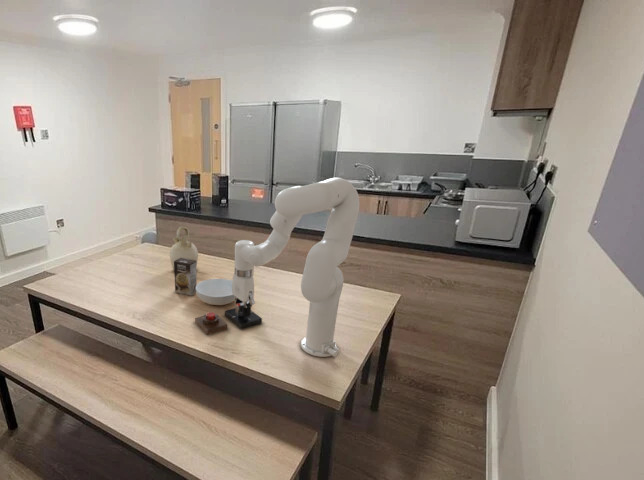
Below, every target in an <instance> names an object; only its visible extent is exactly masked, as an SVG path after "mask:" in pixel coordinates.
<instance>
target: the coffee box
mask: <svg viewBox="0 0 644 480" xmlns="http://www.w3.org/2000/svg"><path fill="white" fill-rule="evenodd" d="M173 273H174V274H173V275H174V293H178V294H181V295H186V296H192V295H194V294H195V293H196V285H197V284H198V282H197V280H198V279H197V276H198V275H197V267H196V260H190V259H185V258H179V259H177V260H175V261H174V270H173Z"/></svg>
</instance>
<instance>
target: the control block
mask: <svg viewBox="0 0 644 480" xmlns="http://www.w3.org/2000/svg"><path fill="white" fill-rule="evenodd" d="M206 314H207V313H205V314H204V315H201V316H198V317H195V318H194V324H196V325H197V327H199V328H200V329H201V330H202V331H203V332H204V333H205V334H206V335H212V334H216V333H219V332H222V331H225V330H228V324H227V322H225V321H224V320H223V319H222V318H221V317H220V316H219V314H217V313H215V319H213V320H208V319H207V318H206Z"/></svg>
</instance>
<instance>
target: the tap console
mask: <svg viewBox="0 0 644 480" xmlns="http://www.w3.org/2000/svg"><path fill="white" fill-rule="evenodd" d="M224 317H225V318H226V319H227V320H229V321H230V323H232V324H234V325H235V326H236V327H237V328H238V329H239V330H245V329H248V328H251V327H255V326H258V325H261V324H263V318H262V317H261V316H260V315H258V314H257V313H255V312H254V311H252V310H251V315H248V316H240V317H237V316H236V309H235V307H234V308H230V309H227V310H224Z"/></svg>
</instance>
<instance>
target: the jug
mask: <svg viewBox="0 0 644 480" xmlns="http://www.w3.org/2000/svg"><path fill="white" fill-rule="evenodd" d="M183 230H184V232H185V235H184V237H181V232H182V231H183ZM189 237H190V230H189V228H188V227H186V226H180V227H178V229H177V231H176V237H173V238H172V241H173V242H174V244H173V245H171V248H170V250H169V259H170V263H171V267H172V270H173V271H174V261H175V260H177V259H179V258H185V259H190V260H196V268H197V267H198V262H199V261H198V260H199V251H198V248H197V247H196V245H195V244H194V243H193V242H192V241H188V239H189Z"/></svg>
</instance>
